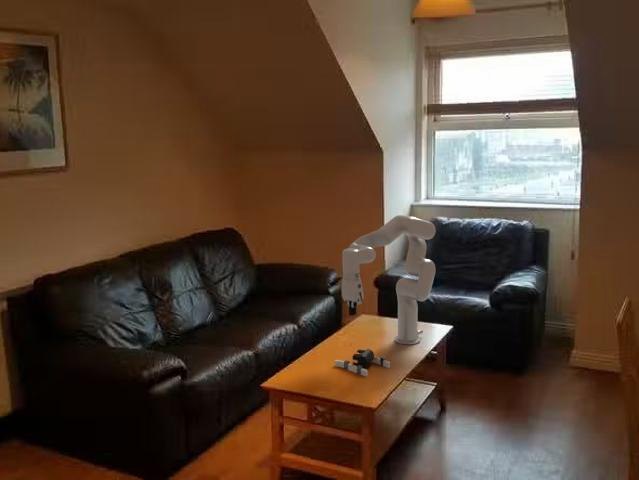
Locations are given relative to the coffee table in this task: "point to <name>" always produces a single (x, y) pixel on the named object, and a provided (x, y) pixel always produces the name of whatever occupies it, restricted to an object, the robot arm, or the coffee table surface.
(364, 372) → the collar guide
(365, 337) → the coffee table surface
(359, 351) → the end cap
